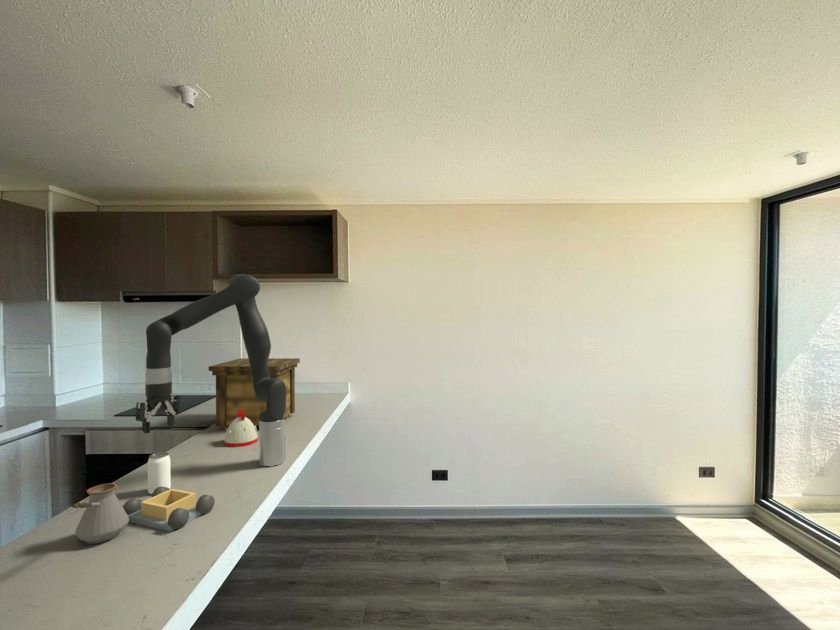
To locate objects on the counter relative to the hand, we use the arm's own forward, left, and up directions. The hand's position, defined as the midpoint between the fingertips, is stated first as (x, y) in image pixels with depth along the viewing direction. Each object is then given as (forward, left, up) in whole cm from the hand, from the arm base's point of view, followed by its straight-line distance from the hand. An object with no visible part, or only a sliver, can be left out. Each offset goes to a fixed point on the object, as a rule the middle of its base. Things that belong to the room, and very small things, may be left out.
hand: (158, 429), depth 140 cm
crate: (-81, -30, -21) cm, 89 cm away
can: (0, 0, -21) cm, 21 cm away
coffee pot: (+30, +15, -21) cm, 39 cm away
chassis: (+11, +18, -21) cm, 29 cm away
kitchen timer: (-51, -13, -21) cm, 57 cm away
